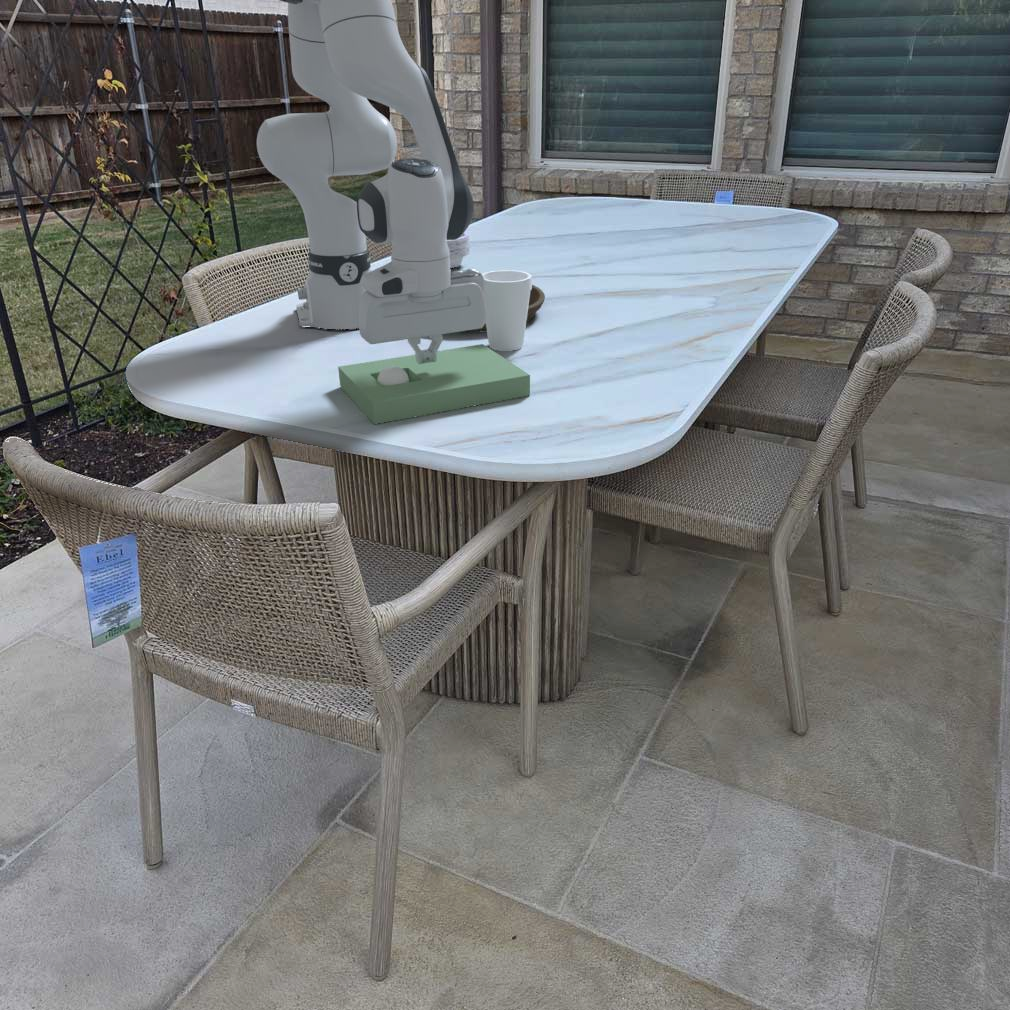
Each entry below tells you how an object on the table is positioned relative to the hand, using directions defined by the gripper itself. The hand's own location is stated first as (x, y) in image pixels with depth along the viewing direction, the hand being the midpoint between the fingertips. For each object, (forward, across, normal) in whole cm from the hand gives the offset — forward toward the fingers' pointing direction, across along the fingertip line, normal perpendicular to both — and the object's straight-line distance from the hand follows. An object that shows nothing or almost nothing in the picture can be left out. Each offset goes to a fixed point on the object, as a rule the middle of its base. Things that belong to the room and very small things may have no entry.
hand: (426, 362), depth 136 cm
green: (+5, -1, 0) cm, 5 cm away
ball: (+2, +6, +1) cm, 6 cm away
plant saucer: (+6, -25, -39) cm, 47 cm away
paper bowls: (+5, -36, -83) cm, 91 cm away
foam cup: (+5, -22, -16) cm, 28 cm away
